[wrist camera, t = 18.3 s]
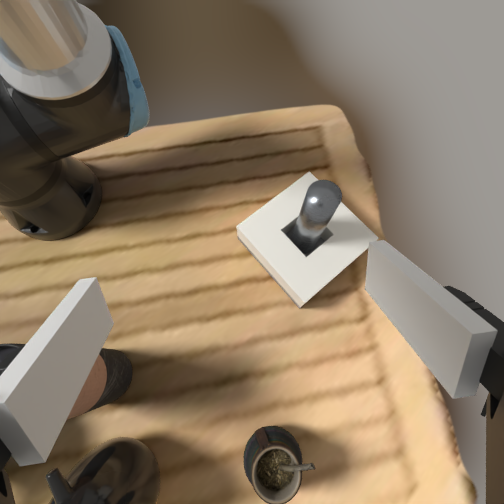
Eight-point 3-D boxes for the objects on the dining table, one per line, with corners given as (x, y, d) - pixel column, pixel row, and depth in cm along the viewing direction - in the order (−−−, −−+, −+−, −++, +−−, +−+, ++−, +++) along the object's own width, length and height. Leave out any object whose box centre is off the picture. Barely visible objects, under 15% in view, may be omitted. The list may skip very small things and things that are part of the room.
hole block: (237, 238, 49) (236, 226, 45) (304, 187, 53) (309, 171, 48) (299, 308, 46) (304, 303, 41) (366, 249, 49) (379, 238, 44)
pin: (285, 240, 48) (299, 193, 34) (303, 226, 49) (324, 173, 35) (302, 258, 47) (323, 217, 33) (320, 243, 48) (349, 197, 34)
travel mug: (109, 336, 44) (3, 323, 25) (145, 371, 43) (61, 384, 24) (69, 379, 42) (-78, 400, 23) (105, 418, 41) (-21, 473, 22)
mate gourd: (233, 440, 40) (229, 465, 31) (281, 409, 41) (291, 423, 32) (260, 497, 38) (265, 542, 28) (310, 462, 39) (330, 494, 30)
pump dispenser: (153, 414, 41) (99, 446, 27) (179, 497, 38) (135, 584, 23) (80, 451, 40) (-19, 506, 25) (101, 540, 36) (3, 661, 22)
